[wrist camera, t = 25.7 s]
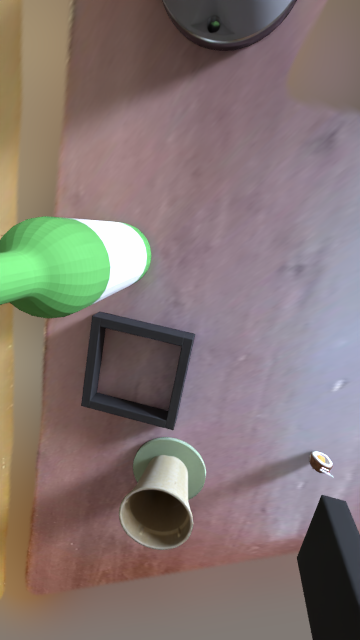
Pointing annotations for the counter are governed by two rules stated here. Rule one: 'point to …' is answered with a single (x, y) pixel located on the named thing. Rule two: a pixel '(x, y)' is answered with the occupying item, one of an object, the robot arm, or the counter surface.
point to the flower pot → (159, 505)
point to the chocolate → (320, 462)
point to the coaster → (176, 450)
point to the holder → (123, 406)
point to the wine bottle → (68, 263)
